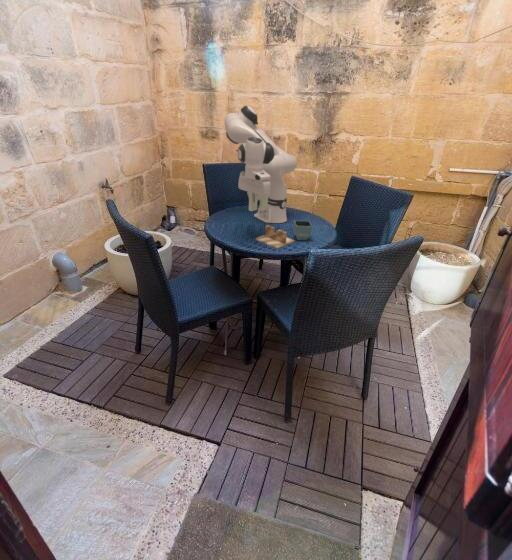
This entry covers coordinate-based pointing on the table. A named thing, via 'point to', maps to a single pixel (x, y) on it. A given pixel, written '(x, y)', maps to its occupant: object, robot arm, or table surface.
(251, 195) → the slot plate
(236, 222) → the table surface
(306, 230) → the flower pot
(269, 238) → the tan piece
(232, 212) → the table surface
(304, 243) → the table surface
